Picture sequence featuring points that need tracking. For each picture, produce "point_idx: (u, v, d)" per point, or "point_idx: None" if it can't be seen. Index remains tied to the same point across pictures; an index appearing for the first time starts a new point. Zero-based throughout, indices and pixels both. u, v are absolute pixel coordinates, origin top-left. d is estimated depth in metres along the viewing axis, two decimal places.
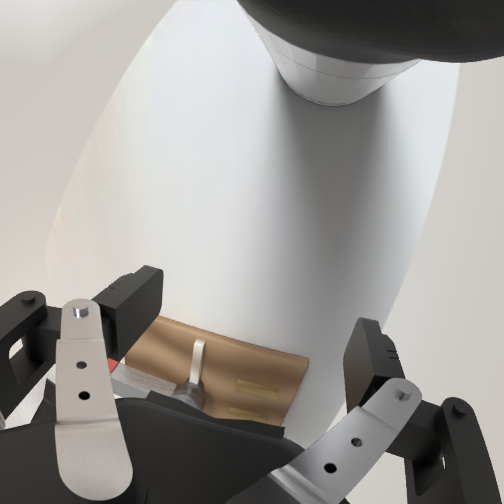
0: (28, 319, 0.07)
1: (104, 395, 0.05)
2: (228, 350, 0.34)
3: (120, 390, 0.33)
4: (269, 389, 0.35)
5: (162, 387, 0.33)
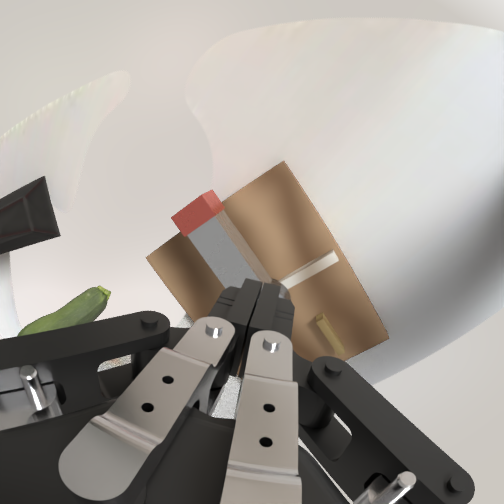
0: (135, 342, 0.08)
1: (166, 416, 0.05)
2: (348, 280, 0.31)
3: (207, 242, 0.26)
4: (339, 340, 0.33)
5: (261, 272, 0.28)
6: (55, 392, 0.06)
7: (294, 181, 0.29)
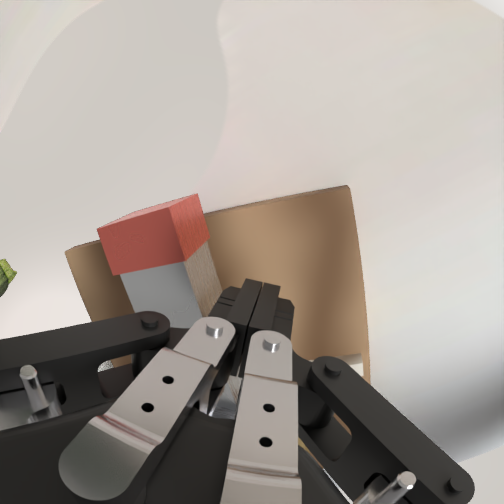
0: (135, 343, 0.08)
1: (166, 416, 0.05)
2: None
3: (153, 302, 0.12)
4: None
5: None
6: (55, 392, 0.06)
7: (353, 231, 0.15)
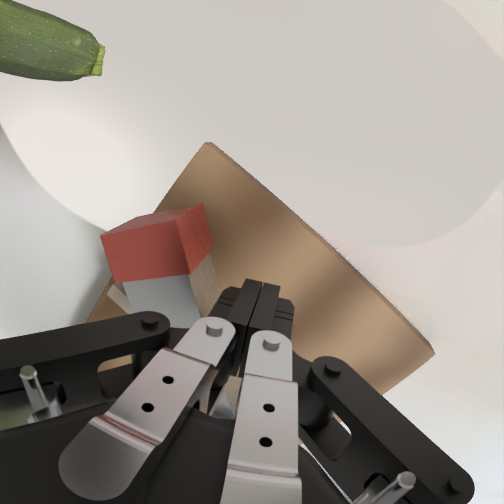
0: (135, 343, 0.08)
1: (166, 416, 0.05)
2: None
3: (155, 311, 0.12)
4: None
5: (235, 379, 0.15)
6: (55, 392, 0.06)
7: (408, 373, 0.17)
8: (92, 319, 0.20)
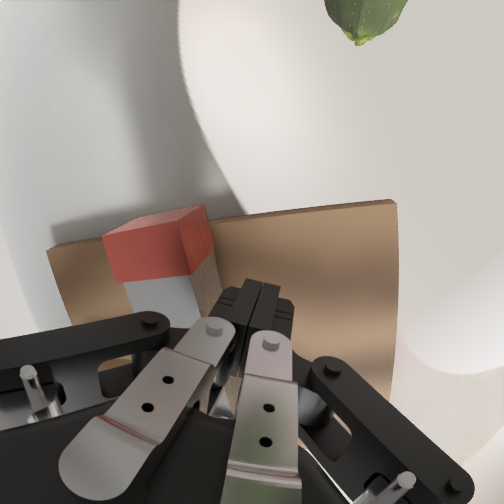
0: (135, 343, 0.08)
1: (166, 416, 0.05)
2: None
3: None
4: None
5: (236, 379, 0.15)
6: (55, 392, 0.06)
7: None
8: None
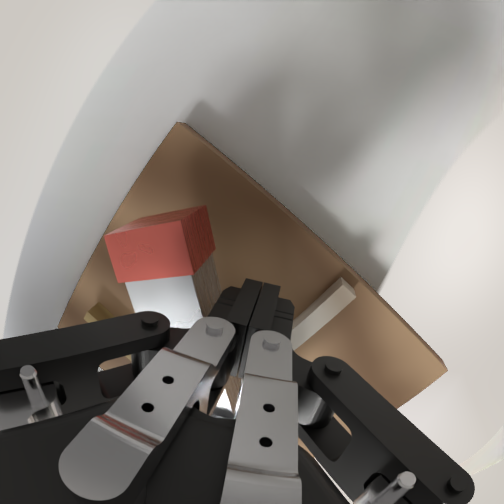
0: (135, 343, 0.08)
1: (166, 416, 0.05)
2: None
3: None
4: None
5: (236, 380, 0.15)
6: (55, 392, 0.06)
7: None
8: (289, 224, 0.16)
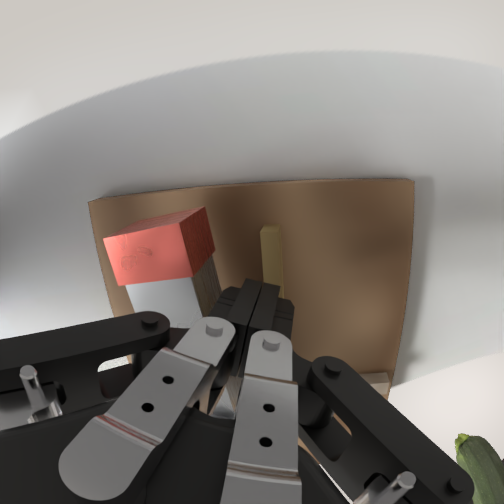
0: (135, 343, 0.08)
1: (166, 416, 0.05)
2: None
3: None
4: None
5: (238, 380, 0.15)
6: (55, 392, 0.06)
7: None
8: (398, 320, 0.16)
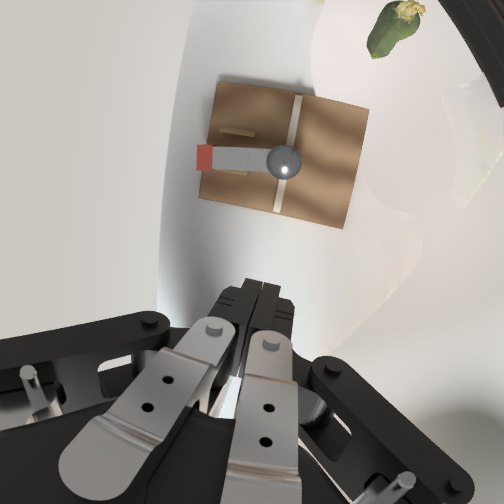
0: (135, 342, 0.08)
1: (166, 416, 0.05)
2: (256, 203, 0.47)
3: (222, 161, 0.40)
4: (222, 170, 0.45)
5: None
6: (55, 392, 0.06)
7: (329, 225, 0.46)
8: (269, 89, 0.41)
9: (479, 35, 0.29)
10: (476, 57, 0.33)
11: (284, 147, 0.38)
